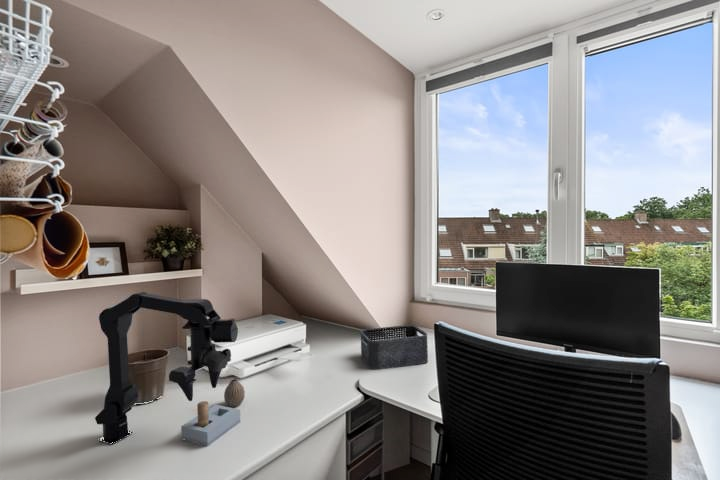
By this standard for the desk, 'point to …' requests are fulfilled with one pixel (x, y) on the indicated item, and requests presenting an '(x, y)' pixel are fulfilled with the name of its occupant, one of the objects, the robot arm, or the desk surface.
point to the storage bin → (394, 347)
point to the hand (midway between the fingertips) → (202, 394)
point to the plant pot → (148, 372)
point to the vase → (234, 393)
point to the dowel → (203, 414)
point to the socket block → (211, 425)
